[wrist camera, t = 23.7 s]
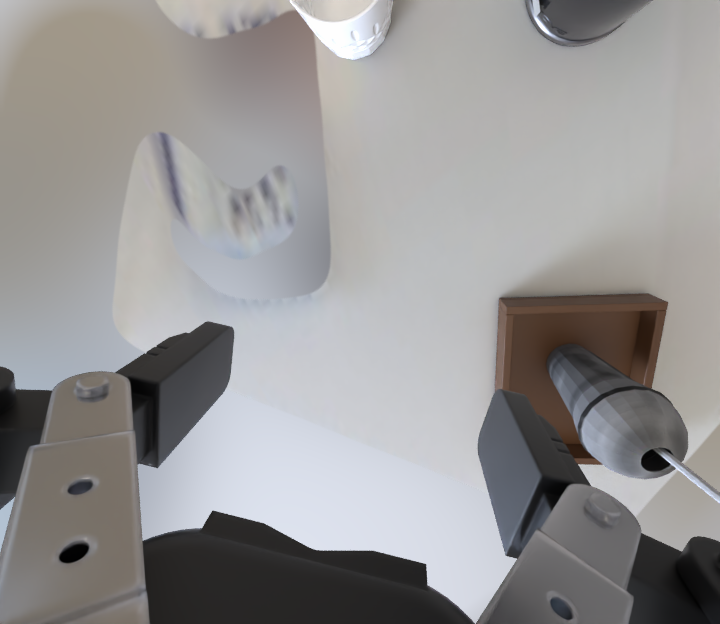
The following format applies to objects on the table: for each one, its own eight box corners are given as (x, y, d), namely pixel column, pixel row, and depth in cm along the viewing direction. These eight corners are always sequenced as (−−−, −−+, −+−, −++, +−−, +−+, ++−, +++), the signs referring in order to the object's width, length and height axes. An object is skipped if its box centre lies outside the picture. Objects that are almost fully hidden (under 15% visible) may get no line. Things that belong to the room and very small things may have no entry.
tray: (499, 298, 40) (506, 306, 37) (648, 293, 39) (668, 302, 36) (491, 445, 46) (497, 462, 43) (621, 447, 44) (636, 465, 41)
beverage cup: (519, 358, 42) (614, 501, 23) (579, 318, 40) (739, 440, 21) (557, 403, 43) (677, 576, 24) (618, 367, 41) (801, 525, 22)
